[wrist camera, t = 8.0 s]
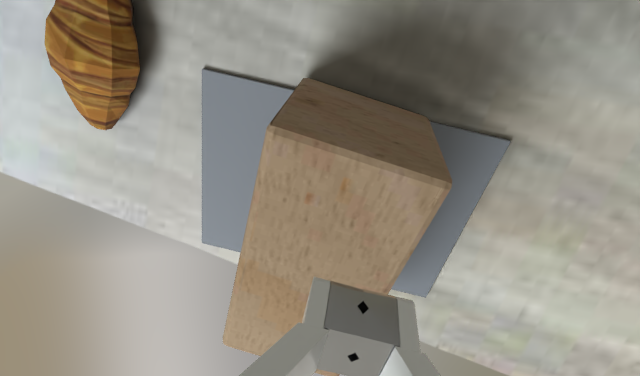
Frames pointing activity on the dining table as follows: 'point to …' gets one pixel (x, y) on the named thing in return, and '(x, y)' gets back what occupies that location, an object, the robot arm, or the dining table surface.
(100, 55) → the croissant
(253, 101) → the felt mat
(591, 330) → the dining table surface
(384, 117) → the wooden block
